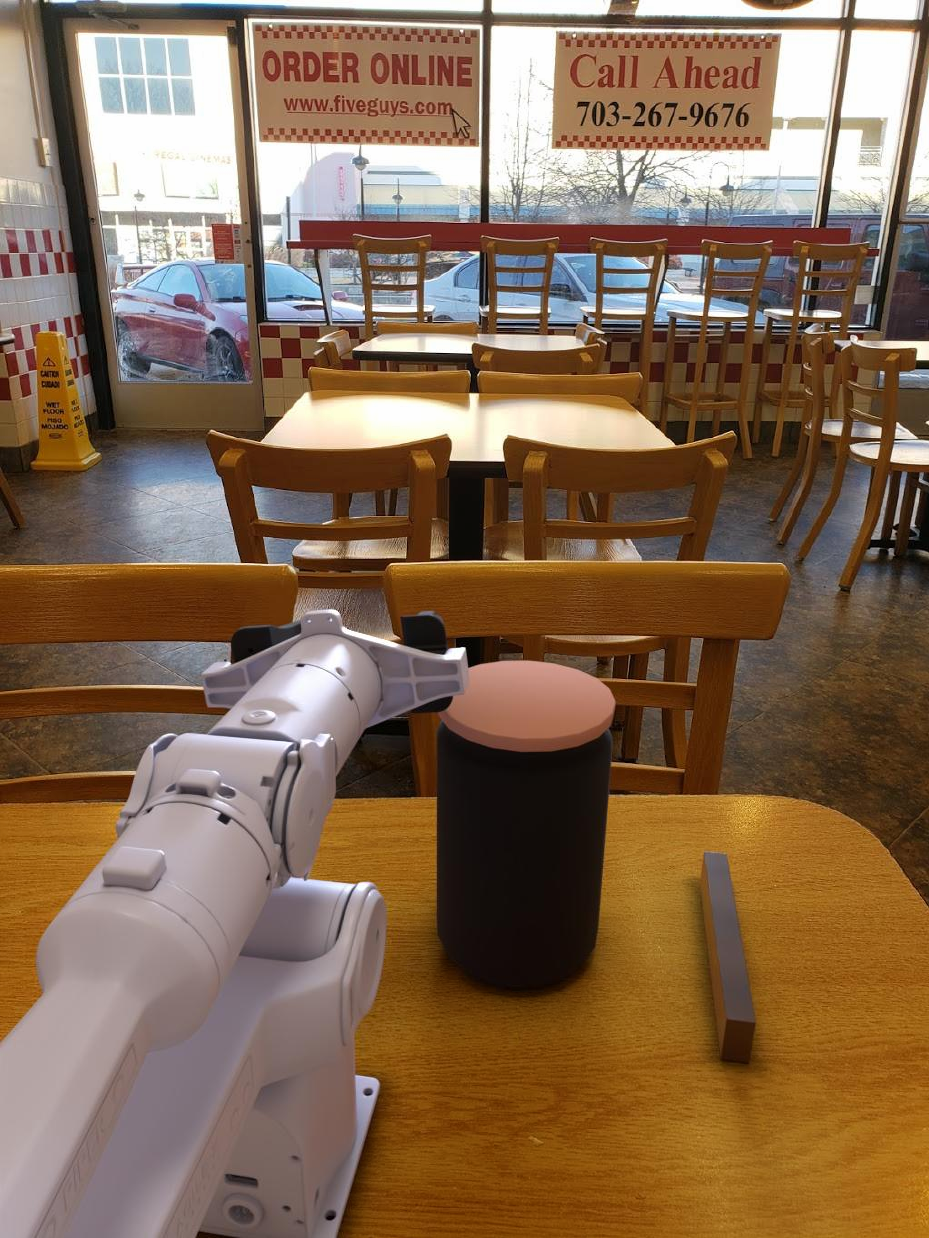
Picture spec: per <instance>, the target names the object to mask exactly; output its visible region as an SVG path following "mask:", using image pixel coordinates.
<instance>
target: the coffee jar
mask: <svg viewBox="0 0 929 1238" xmlns="http://www.w3.org/2000/svg"><path fill="white" fill-rule="evenodd" d="M468 672H469V684H468V686H467V689H466V691H465V694H464V695H456V696H453V700H452V703H451V704H450V706H449V707H448V708H447V709H446V710H444V711H442V712H438V717H439V718H440V720H441V721H440V722H439V724H438V726H437V729H436V930H437V931H436V935H437V938H438V940H439V941H440V943H441V944H442V947H443V948H444V951H445V952H446V954H447V956H448V958H449V959H451V960H452V961H453V963H454V964H455V965H456V966H458V968H459V969H461V970H462V971H463V972H464V973H465V974H466V975H467V976H469V978H472V979H474V980H476V981H479V982H480V983H483V984H484V985H487V986H489V987H492V988H498V989H503V990H508V991H509V990H510V991H536V990H539V989H543V988H547V987H551V986H554V985H557V984H559V983H561V982H562V981H564V980H566V979H567V978H569V977H570V976H572V975H573V974H575V972H576V971H577V970H578V969H580V968H581V967H582V966H583V964H585V962H586V961H587V959H588V958H589V957H590V955H591V954H592V953H593V951H594V950H595V948H596V945H597V939H598V934H599V925H600V914H601V913H600V912H601V901H602V888H603V873H604V863H605V852H606V851H605V849H606V848H605V847H606V837H607V824H608V810H609V801H610V800H609V797H610V784H611V773H612V771H611V770H612V762H613V761H612V759H613V748H614V740H613V735H612V733H611V731H610V727H611V726H612V723H613V719H614V714H615V709H616V703H617V702H616V699H615V698H614V695H613V693H612V691H611V689H610V688H609V687H608V686H607V685H606V684H604V683H603V682H602V681H601V680H599V678H597V677H595V676H593V675H591V674H588V673H586V672H584V671H582V670H579V669H577V668H573V667H569V666H565V665H561V664H558V663H553V662H545V661H537V660H536V661H535V660H500V661H493V662H488V663H480V664H477V665H473V666H471V667H468Z"/></svg>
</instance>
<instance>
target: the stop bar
mask: <svg viewBox="0 0 929 1238" xmlns="http://www.w3.org/2000/svg"><path fill="white" fill-rule="evenodd" d="M701 863H702V864H701V872H700V879H699V880H700V881H699V892H700V901H701V910H702V916H703V926H704V935H705V942H706V950H707V958H708V959H707V960H708V965H709V966H708V968H709V974H710V982H711V990H712V998H713V999H712V1000H713V1007H714V1017H715V1025H716V1034H717V1040H718V1047H719V1048H718V1049H719V1058H720V1060H722V1061H728V1062H736V1063H744V1064H750V1062H751V1055H752V1049H753V1044H754V1037H755V1031H756V1025H757V1021H756V1015H755V1009H754V1003H753V997H752V992H751V987H750V986H751V985H750V980H749V974H748V969H747V963H746V962H747V961H746V956H745V952H744V946H743V939H742V934H741V928H740V924H739V923H740V922H739V917H738V911H737V905H736V898H735V893H734V887H733V881H732V875H731V870H730V864H729V858H728V854H727V853H725V852H724V853H723V852H716V851H715V852H714V851H703V857H702V862H701Z"/></svg>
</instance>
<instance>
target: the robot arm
mask: <svg viewBox="0 0 929 1238" xmlns="http://www.w3.org/2000/svg"><path fill="white" fill-rule="evenodd" d="M399 620H400V625H401V635H402V639H403V644H400V643H396V642H393V641H389V640H386V639H381V638H379V637H374V636H371V635H369V634H368V635H367V634H364V633H360V632H356V631H354V630H350V629H347V628H346V627H345V626H344V623H343V618H342V616H341V613H340V612H339V611H337V610H336V609H318V610H317V609H316V610H309V611H307V612H305V614H304V615H302V617H301V618H300V619H299V620H296V621H292V622H290V623H289V622H288V623H286V624H284V625H279V626H275V625H273V624H263V625H261V624H260V625H248V626H241V627H240V628H238V629H237V630H236V631H235V632H234V633H233V634H232V636H231V639H230V649H231V653H232V658H233V659H232V660H233V662H232V663H231V662H230V661H216V662H213V663H212V664H211V665H210V666H208V668H206V669H205V670H204V671H203V672H202V673H201V674H200V679H201V684H202V688H203V693H204V698H205V703H206V707H207V708H209V709H211V708H218V709H219V708H222V709H229V710H228V711H227V712H226V713H225V714H224V716H222V718H220V720H219V721H218V722H217V723H216V724H215V725H214V726H213V727H212V728H211V729H210V730H209V731H208V732H207V733H206V734H203V733H194V732H193V733H191V732H185V733H182V734H180V735H178V734H175V733H166V734H163V735H161V736H160V737H158V738H157V739H156V740H155V741H154V742H153V743H150V744H149V745H148V746H147V747H146V749H145V751H144V752H143V754H142V756H141V759H140V761H139V763H138V766H137V768H136V771H135V774H134V778H133V781H132V784H131V788H130V791H129V796H128V798H127V801H126V802H125V804H124V806H123V807H122V808H121V809H120V811H119V812H118V813H119V818H118V819H117V821H116V823H115V831H116V837H117V840H115V842H114V843H113V844H112V846H111V847H110V848H109V849H108V851H107V852H106V853H105V855H104V856H103V857H102V858H101V860H100V861H99V862H98V863H97V864H96V866H95V867H94V868H93V870H92V871H91V872H90V873H89V875H87V877H86V878H85V879H84V881H83V882H82V883H81V885H80V886H79V887H78V888H77V890H76V891H75V892H74V893H73V895H72V896H71V897H70V898H69V900H68V901H67V902H66V904H65V905H64V906H63V907H62V908H61V909H60V911H59V912H58V913H57V915H56V916H55V917H54V918H53V920H52V921H51V922H50V924H49V925H48V926H47V927H46V929H45V930H44V932H43V934H42V935H41V938H40V939H39V941H38V944H37V949H36V955H35V963H36V964H35V967H36V974H37V979H38V983H39V985H40V988H41V992H42V994H41V996H40V997H39V998H38V999H37V1000H36V1001H35V1003H33V1005H32V1006H31V1007H30V1008H29V1009H28V1011H26V1013H25V1014H24V1015H23V1016H22V1017H21V1019H20V1020H19V1021H18V1022H17V1023H16V1025H15V1026H14V1027H13V1028H12V1029H11V1030H10V1031H9V1032H8V1033H7V1035H6V1036H5V1037H4V1038H3V1039H2V1040H1V1042H0V1238H196V1237H197V1235H198V1233H199V1232H202V1233H207V1234H212V1235H213V1234H215V1235H220V1236H225V1237H231V1238H338V1234H339V1230H340V1228H341V1224H342V1220H343V1217H344V1213H345V1210H346V1208H347V1207H346V1206H347V1204H348V1200H349V1196H350V1193H351V1189H352V1187H353V1184H354V1183H353V1182H354V1179H355V1176H356V1173H357V1169H358V1166H359V1162H360V1160H361V1155H362V1153H363V1149H364V1146H365V1141H366V1138H367V1136H368V1131H369V1128H370V1125H371V1121H372V1118H373V1114H374V1111H375V1107H376V1104H377V1101H378V1097H379V1094H380V1088H381V1084H380V1081H379V1080H378V1079H377V1078H376V1077H370V1076H364V1075H357V1074H356V1053H355V1050H356V1049H355V1033H356V1031H357V1029H358V1027H359V1025H360V1023H361V1022H362V1020H363V1019H364V1018H365V1017H366V1016H367V1015H368V1014H369V1013H370V1011H371V1010H372V1008H373V1005H374V1003H375V1000H376V997H377V994H378V990H379V986H380V982H381V977H382V974H383V973H382V972H383V967H384V959H385V952H386V944H387V928H388V927H387V925H388V922H387V921H388V919H387V918H388V917H387V914H388V913H387V905H386V901H385V899H384V897H383V896H382V894H381V892H380V891H379V889H378V887H377V885H376V884H375V883H374V882H370V881H360V882H357V884H355V883H348V882H346V883H345V882H339V881H331V880H329V881H328V880H321V879H320V880H319V879H311V878H309V877H310V875H311V873H312V870H313V867H314V865H315V862H316V859H317V856H318V852H319V848H320V843H321V839H322V835H323V830H324V826H325V823H326V820H327V818H328V816H329V815H330V813H331V810H332V808H333V806H334V799H335V798H336V793H337V782H336V781H337V778H336V777H337V776H338V774H339V773H340V771H341V769H342V768H343V767H344V764H345V763H346V761H347V760H348V758H349V756H350V754H351V753H352V751H353V750H354V748H355V746H356V745H357V743H358V741H359V740H360V738H361V737H362V735H363V733H364V731H365V730H366V729H368V728H371V727H373V726H375V725H378V724H380V723H382V722H385V721H388V720H390V719H392V718H394V717H397V716H399V715H402V714H405V713H406V712H409V711H410V714H412V715H413V714H432V713H434V714H435V713H439V712H442V711H444V710H446V709H447V708H448V707H449V706H450V704H451V703H452V700H453V696H456V695H464V694H465V691H466V689H467V686H468V684H469V672H468V668H469V664H468V663H469V662H468V656H467V649H466V647H452V648H449V647H448V639H447V632H446V627H445V623H444V621H443V619H442V616H441V615H437V614H436V612H435V611H434V610H426V611H425V610H424V611H419V613H417V614H415V615H414V614H413V615H402V616H401V615H400V617H399ZM367 1094H370V1095H367ZM329 1217H334V1218H333V1219H332V1220H328V1218H329Z"/></svg>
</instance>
